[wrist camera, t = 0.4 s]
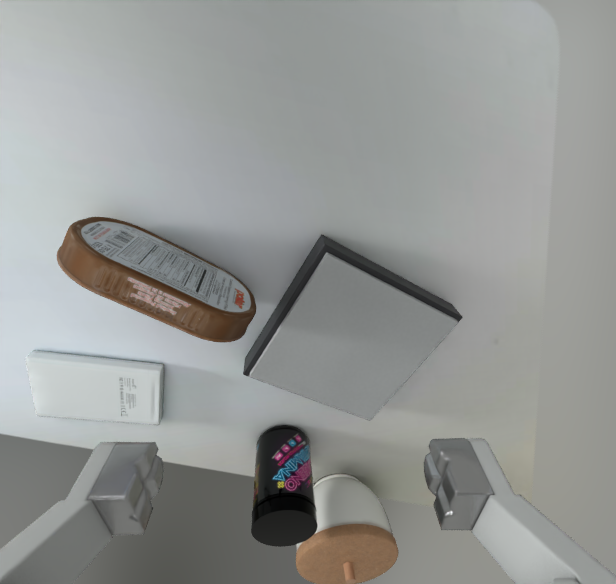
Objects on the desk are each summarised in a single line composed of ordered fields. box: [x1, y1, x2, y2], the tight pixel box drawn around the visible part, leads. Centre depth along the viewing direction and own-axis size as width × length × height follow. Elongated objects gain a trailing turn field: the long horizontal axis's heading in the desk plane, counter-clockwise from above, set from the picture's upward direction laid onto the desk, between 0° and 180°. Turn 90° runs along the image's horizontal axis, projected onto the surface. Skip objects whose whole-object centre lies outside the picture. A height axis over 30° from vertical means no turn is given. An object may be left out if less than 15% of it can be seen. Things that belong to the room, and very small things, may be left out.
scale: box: [243, 235, 462, 421], centre depth 35 cm, size 16×16×3 cm
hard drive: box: [26, 350, 164, 425], centre depth 37 cm, size 2×8×12 cm
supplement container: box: [251, 425, 317, 546], centre depth 40 cm, size 7×7×10 cm
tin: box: [57, 217, 256, 342], centre depth 27 cm, size 15×3×8 cm, turn 57°
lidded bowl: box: [296, 474, 398, 584], centre depth 45 cm, size 13×13×11 cm
